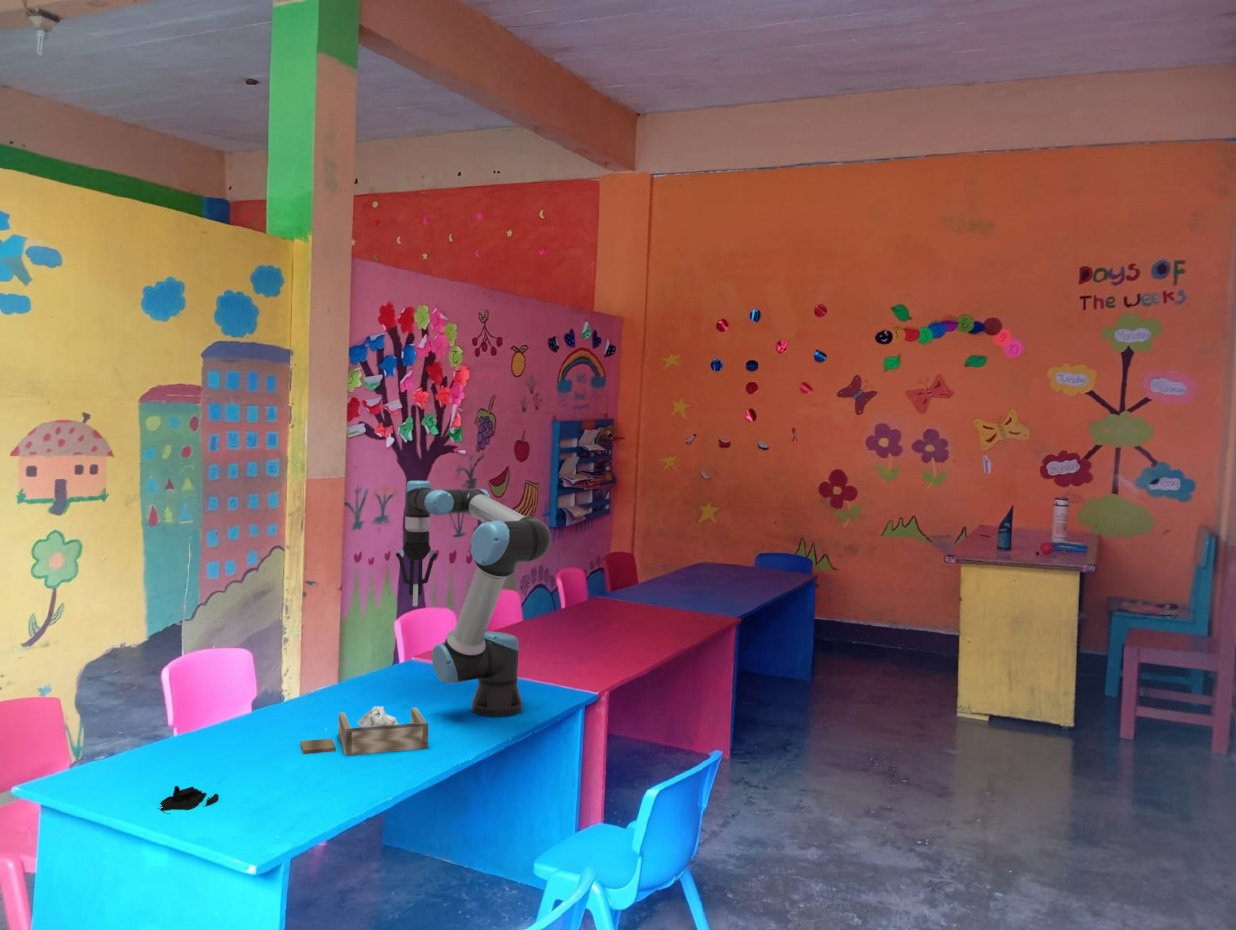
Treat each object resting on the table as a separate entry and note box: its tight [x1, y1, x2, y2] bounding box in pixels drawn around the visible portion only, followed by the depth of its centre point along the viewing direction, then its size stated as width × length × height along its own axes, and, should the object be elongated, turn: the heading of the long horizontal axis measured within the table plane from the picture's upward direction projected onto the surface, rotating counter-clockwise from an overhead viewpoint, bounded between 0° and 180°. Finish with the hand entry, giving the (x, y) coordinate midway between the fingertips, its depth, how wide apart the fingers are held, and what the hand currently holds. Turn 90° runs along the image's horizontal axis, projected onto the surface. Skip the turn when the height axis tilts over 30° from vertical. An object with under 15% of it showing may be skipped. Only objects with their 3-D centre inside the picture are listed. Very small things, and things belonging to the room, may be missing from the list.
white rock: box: [356, 705, 400, 727], centre depth 266 cm, size 12×9×10 cm
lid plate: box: [299, 738, 337, 755], centre depth 258 cm, size 8×8×2 cm
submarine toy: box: [157, 785, 220, 815], centre depth 218 cm, size 12×10×5 cm
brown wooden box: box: [337, 707, 429, 756], centre depth 265 cm, size 21×18×7 cm
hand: (415, 605), depth 310 cm, fingers closed
